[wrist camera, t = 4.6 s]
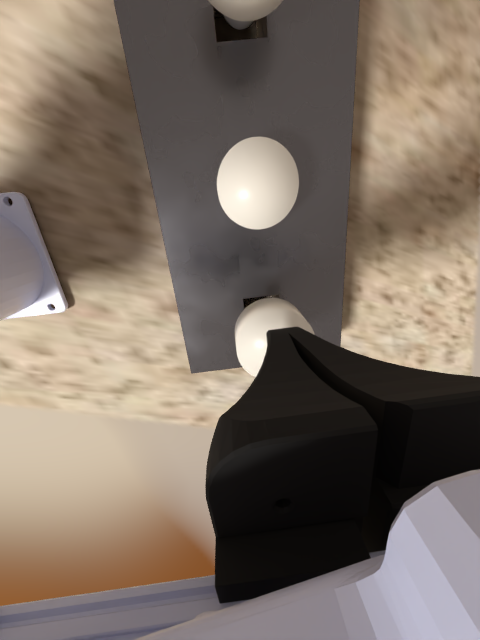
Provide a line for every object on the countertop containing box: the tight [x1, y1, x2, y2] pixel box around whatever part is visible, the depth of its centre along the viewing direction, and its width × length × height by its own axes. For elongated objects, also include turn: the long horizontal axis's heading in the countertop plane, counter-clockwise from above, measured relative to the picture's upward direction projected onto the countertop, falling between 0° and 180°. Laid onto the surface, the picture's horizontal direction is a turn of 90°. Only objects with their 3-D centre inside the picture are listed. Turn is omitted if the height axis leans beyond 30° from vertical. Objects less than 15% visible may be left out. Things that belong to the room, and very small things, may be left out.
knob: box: [235, 298, 315, 377], centre depth 15 cm, size 4×4×5 cm
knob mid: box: [217, 137, 299, 230], centre depth 15 cm, size 4×4×5 cm
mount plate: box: [114, 0, 360, 373], centre depth 16 cm, size 11×23×3 cm, turn 6°
